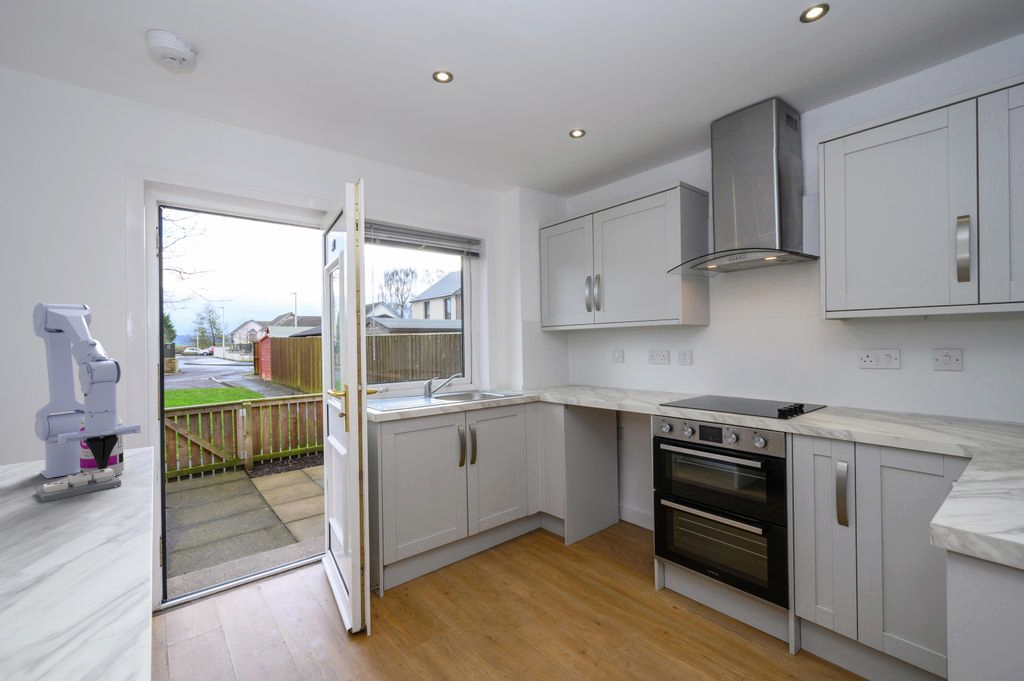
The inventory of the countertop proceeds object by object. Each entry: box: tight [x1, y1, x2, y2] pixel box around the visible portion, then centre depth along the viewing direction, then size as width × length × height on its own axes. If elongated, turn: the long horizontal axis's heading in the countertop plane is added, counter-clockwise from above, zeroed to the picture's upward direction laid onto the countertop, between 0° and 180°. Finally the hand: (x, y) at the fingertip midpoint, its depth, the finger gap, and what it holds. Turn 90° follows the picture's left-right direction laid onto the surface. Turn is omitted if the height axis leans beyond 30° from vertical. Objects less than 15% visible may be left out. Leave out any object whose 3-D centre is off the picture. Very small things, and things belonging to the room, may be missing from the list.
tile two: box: [66, 472, 91, 487], centre depth 106 cm, size 4×4×2 cm
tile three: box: [42, 480, 68, 493], centre depth 103 cm, size 4×4×2 cm
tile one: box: [91, 468, 114, 483], centre depth 109 cm, size 4×4×2 cm
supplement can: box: [79, 414, 125, 478], centre depth 117 cm, size 8×8×15 cm
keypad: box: [35, 476, 122, 503], centre depth 106 cm, size 9×13×1 cm
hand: (102, 468), depth 109 cm, fingers closed
